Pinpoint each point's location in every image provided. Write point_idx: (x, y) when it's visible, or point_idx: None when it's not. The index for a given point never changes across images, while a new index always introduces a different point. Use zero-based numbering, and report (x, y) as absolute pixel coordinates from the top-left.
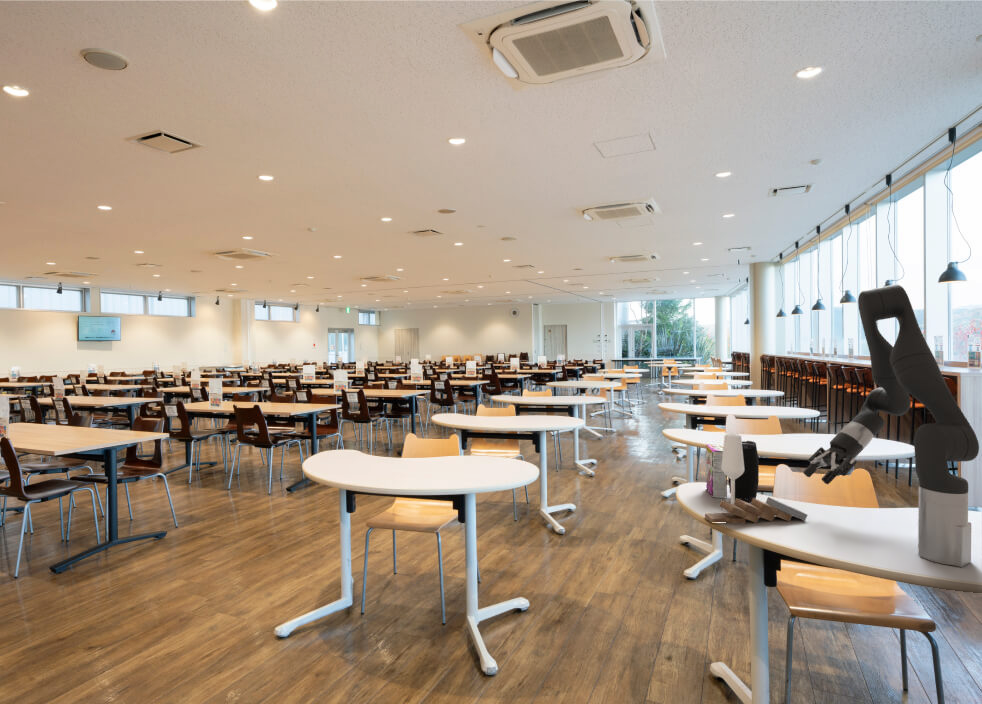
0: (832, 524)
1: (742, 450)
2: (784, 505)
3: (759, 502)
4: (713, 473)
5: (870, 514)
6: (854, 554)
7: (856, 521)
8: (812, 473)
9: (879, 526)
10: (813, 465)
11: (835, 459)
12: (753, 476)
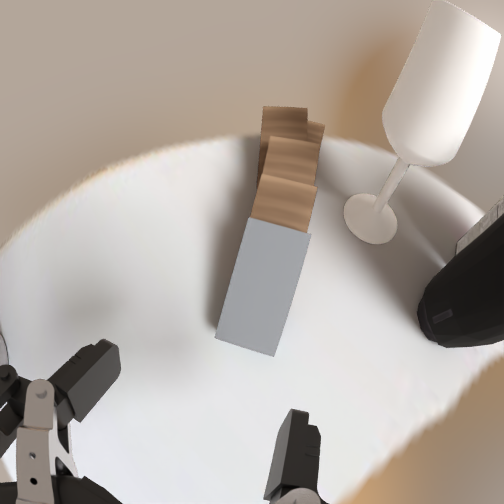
0: (165, 383)
1: (439, 71)
2: (240, 247)
3: (275, 177)
4: (494, 205)
5: None
6: (53, 237)
7: (161, 471)
8: (272, 459)
9: (113, 476)
10: (279, 490)
11: (18, 465)
12: (467, 288)
